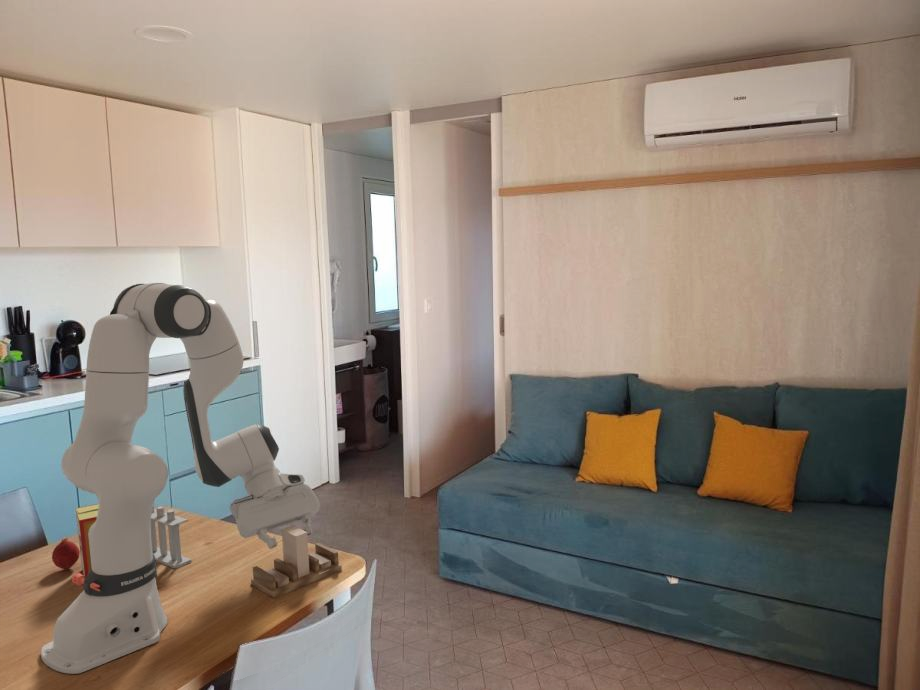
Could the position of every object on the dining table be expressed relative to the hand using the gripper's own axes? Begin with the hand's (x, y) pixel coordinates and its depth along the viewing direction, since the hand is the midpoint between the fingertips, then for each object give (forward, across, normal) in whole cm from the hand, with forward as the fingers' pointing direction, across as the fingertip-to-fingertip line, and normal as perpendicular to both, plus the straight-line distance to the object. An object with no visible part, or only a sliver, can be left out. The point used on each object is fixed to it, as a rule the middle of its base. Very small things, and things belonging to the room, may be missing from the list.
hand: (292, 540), depth 160 cm
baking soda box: (-19, -31, +32) cm, 48 cm away
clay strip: (+6, 0, +4) cm, 7 cm away
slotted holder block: (+7, 0, +5) cm, 9 cm away
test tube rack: (-20, -18, +33) cm, 42 cm away
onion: (-25, -36, +37) cm, 57 cm away
